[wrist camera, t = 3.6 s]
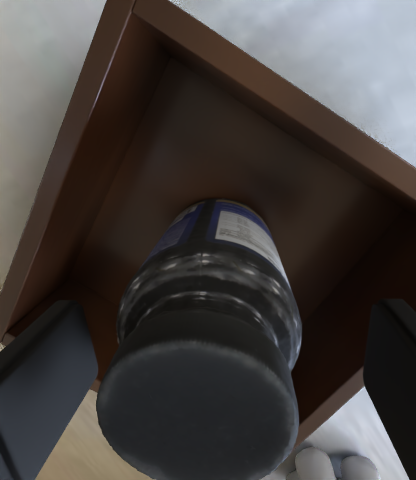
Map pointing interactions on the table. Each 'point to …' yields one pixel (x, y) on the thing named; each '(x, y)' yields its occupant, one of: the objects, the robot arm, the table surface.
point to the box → (214, 192)
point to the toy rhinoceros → (321, 471)
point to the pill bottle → (205, 352)
